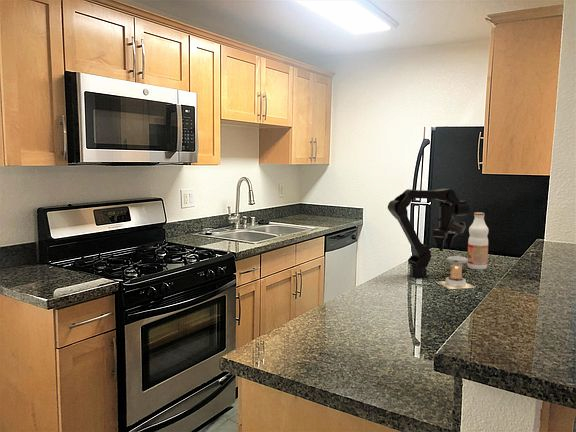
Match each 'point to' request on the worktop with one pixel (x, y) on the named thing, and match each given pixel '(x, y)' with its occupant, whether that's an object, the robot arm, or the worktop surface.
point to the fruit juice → (478, 243)
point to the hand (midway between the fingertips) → (445, 249)
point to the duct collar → (455, 282)
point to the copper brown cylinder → (456, 273)
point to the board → (455, 287)
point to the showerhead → (457, 260)
